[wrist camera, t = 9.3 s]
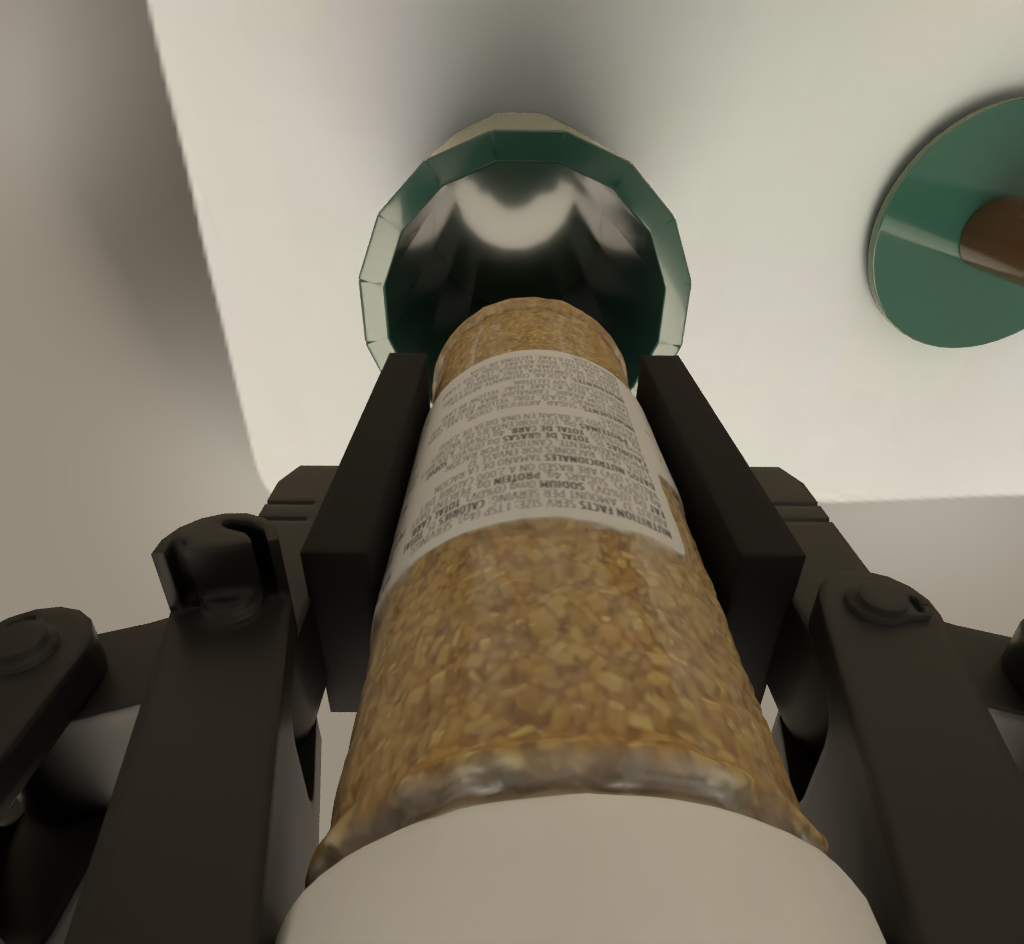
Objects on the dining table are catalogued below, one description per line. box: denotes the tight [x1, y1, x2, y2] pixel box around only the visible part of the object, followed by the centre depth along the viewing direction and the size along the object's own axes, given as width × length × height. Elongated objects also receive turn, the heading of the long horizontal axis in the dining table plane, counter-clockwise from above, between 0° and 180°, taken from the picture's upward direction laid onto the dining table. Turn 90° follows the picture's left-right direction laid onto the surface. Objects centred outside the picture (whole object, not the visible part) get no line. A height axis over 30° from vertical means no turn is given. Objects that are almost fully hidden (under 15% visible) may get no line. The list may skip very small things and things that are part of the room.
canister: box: [359, 112, 691, 409], centre depth 26 cm, size 10×10×16 cm
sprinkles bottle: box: [274, 297, 887, 944], centre depth 9 cm, size 5×5×14 cm
